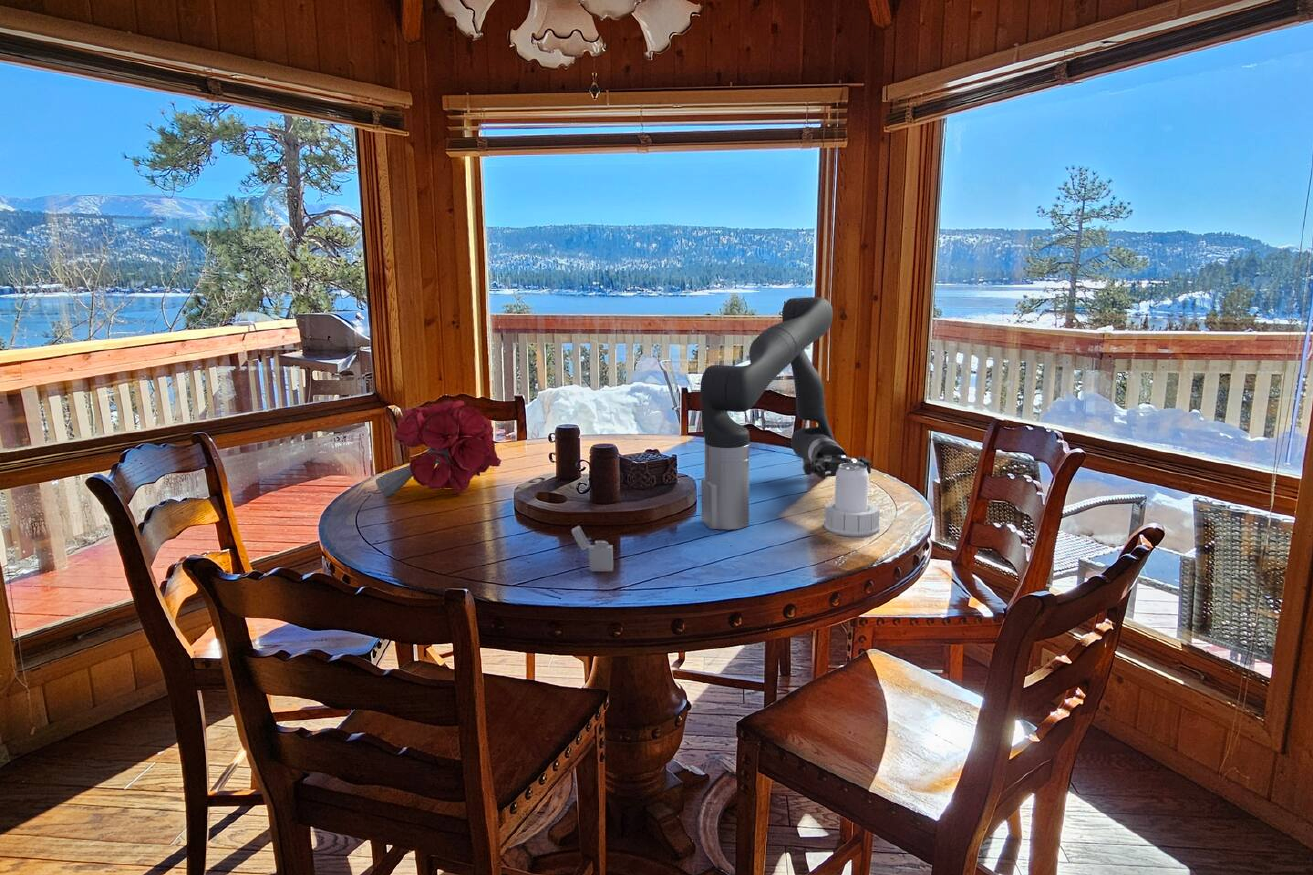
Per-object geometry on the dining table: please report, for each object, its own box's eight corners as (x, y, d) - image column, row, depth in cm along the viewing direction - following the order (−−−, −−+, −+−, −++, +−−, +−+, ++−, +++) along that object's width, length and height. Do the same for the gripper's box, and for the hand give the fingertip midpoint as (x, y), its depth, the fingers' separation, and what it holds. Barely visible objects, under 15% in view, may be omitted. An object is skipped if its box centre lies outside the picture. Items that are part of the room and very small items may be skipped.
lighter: (613, 567, 144) (612, 525, 142) (612, 571, 142) (611, 528, 140) (574, 567, 144) (572, 525, 142) (572, 571, 142) (571, 528, 141)
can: (830, 525, 162) (832, 468, 159) (839, 516, 168) (840, 461, 165) (862, 529, 159) (864, 471, 156) (870, 520, 165) (872, 464, 162)
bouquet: (402, 538, 183) (514, 467, 185) (341, 452, 178) (456, 381, 180) (414, 516, 204) (514, 453, 206) (359, 439, 199) (462, 375, 201)
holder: (840, 539, 157) (841, 517, 156) (814, 522, 167) (815, 502, 166) (889, 533, 160) (890, 512, 159) (861, 517, 170) (862, 497, 169)
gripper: (796, 441, 184) (810, 457, 168) (858, 439, 184) (878, 456, 168) (796, 472, 185) (809, 491, 170) (857, 471, 186) (876, 490, 170)
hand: (843, 473), depth 169 cm, fingers open, 8 cm apart
